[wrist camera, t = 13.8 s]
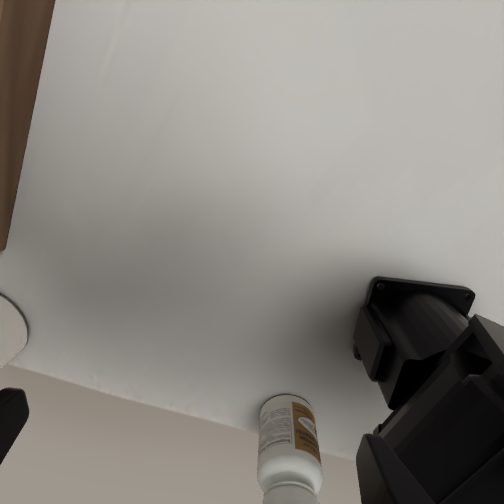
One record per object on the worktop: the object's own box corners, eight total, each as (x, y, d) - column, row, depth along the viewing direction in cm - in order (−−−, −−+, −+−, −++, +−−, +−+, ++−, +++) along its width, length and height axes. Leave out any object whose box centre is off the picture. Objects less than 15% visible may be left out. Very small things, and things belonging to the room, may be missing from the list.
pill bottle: (322, 424, 25) (340, 539, 18) (273, 437, 26) (273, 552, 19) (301, 386, 24) (312, 494, 17) (251, 401, 25) (242, 510, 18)
